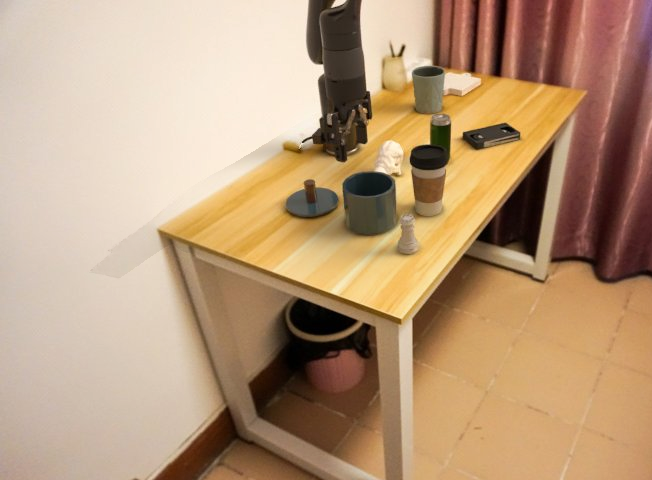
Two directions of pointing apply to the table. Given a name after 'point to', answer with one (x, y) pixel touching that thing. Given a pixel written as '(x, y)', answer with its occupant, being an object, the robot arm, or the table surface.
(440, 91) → the grey green tumbler
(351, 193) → the canister
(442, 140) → the beer can
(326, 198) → the lid
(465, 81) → the mounting plate
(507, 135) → the vhs tape
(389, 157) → the white figurine
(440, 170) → the coffee cup
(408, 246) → the rook chess piece
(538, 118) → the table surface
